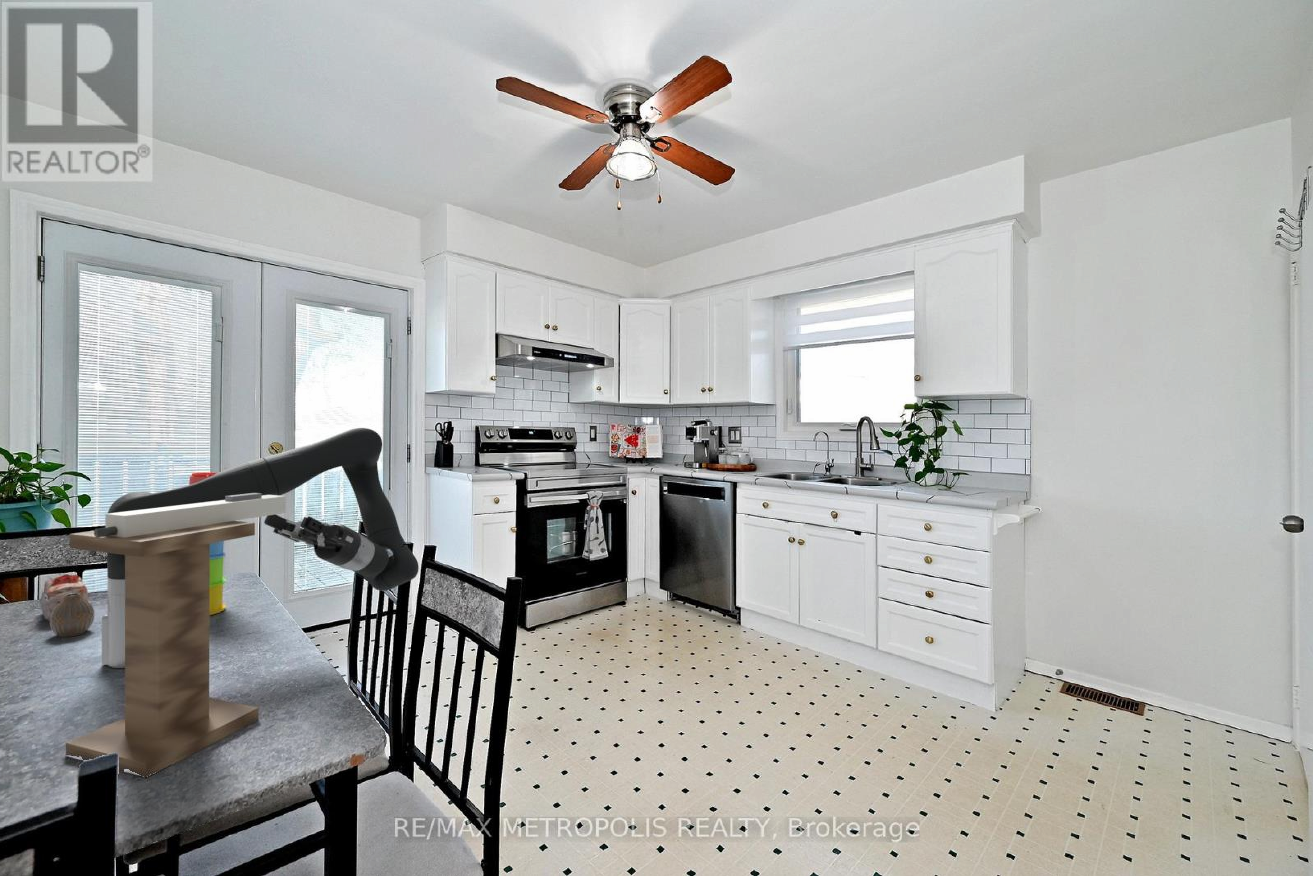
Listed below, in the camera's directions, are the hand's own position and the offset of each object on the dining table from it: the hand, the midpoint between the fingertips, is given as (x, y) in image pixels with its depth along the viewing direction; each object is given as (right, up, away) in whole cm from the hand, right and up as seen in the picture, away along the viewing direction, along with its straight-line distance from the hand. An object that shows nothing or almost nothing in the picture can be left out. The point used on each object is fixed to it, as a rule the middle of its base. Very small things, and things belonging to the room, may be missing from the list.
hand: (285, 519), depth 105 cm
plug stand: (-6, -31, -18) cm, 36 cm away
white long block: (-3, +1, -14) cm, 14 cm away
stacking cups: (-45, -29, +36) cm, 64 cm away
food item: (-74, -28, +32) cm, 86 cm away
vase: (-61, -29, +21) cm, 71 cm away
